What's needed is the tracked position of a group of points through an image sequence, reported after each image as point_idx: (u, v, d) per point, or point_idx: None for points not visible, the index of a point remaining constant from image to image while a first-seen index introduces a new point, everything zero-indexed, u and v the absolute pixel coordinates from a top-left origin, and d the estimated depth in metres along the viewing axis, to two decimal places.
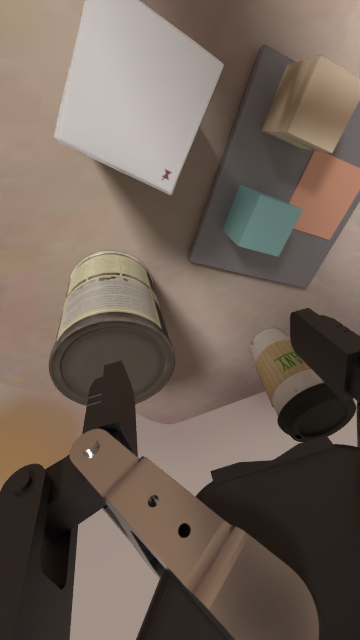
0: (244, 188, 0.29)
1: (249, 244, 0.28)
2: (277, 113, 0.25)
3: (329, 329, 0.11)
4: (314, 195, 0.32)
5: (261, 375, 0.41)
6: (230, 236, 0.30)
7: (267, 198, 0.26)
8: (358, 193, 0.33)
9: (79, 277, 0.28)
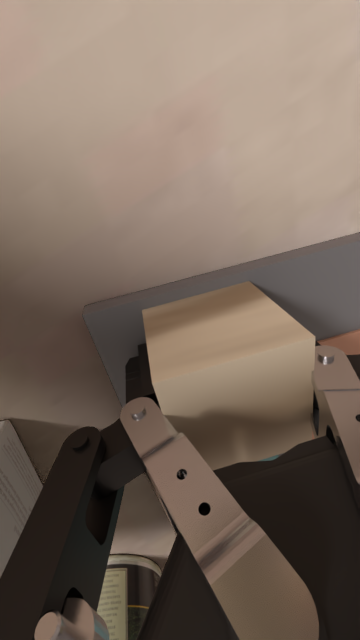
0: None
1: None
2: None
3: None
4: None
5: None
6: None
7: None
8: None
9: None
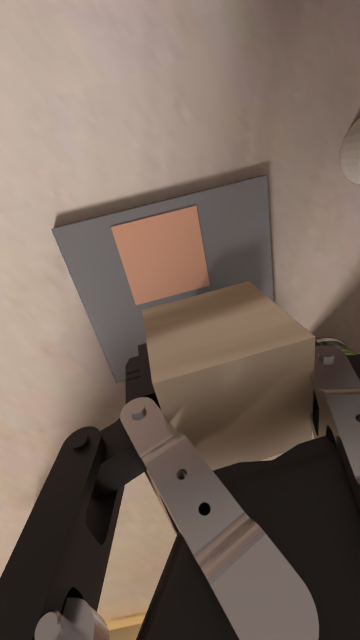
0: None
1: None
2: None
3: None
4: (167, 271, 0.28)
5: None
6: None
7: None
8: (134, 218, 0.25)
9: None
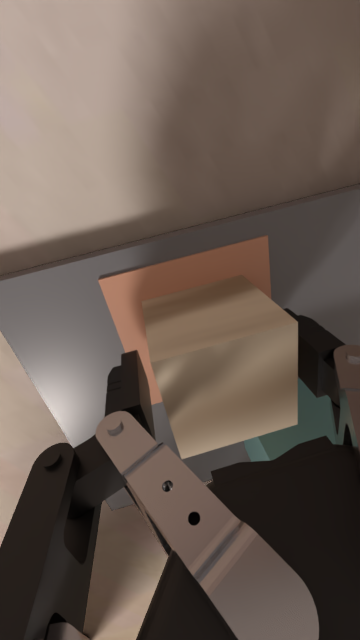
0: None
1: None
2: None
3: (304, 328, 0.11)
4: None
5: None
6: None
7: None
8: (144, 261, 0.13)
9: None
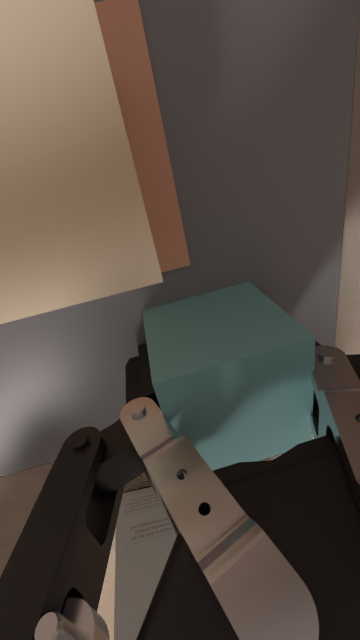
0: None
1: (302, 427, 0.10)
2: None
3: None
4: None
5: None
6: None
7: None
8: None
9: None
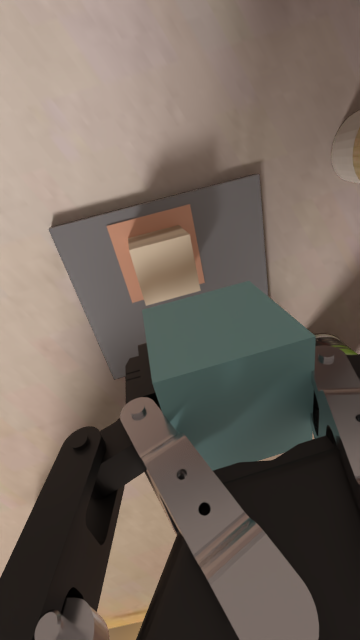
0: None
1: (302, 427, 0.10)
2: None
3: None
4: None
5: None
6: None
7: None
8: (129, 217, 0.26)
9: None
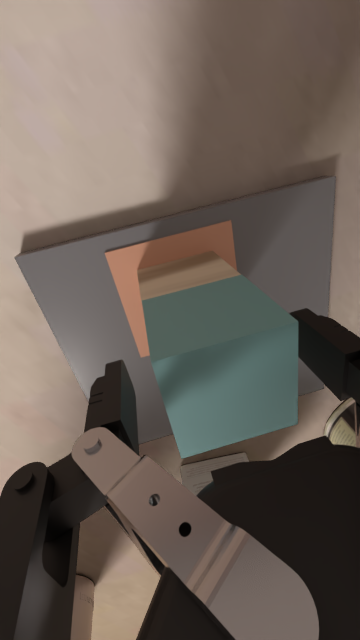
0: None
1: (288, 407, 0.11)
2: None
3: (327, 329, 0.11)
4: None
5: None
6: None
7: (179, 444, 0.11)
8: (139, 239, 0.17)
9: None
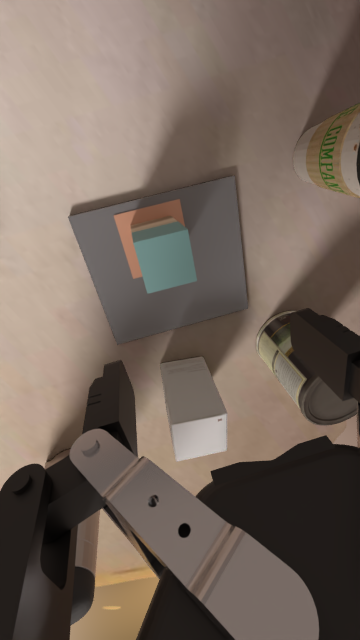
0: None
1: (191, 271, 0.27)
2: None
3: (329, 329, 0.11)
4: None
5: None
6: None
7: (146, 285, 0.27)
8: (131, 208, 0.33)
9: None
